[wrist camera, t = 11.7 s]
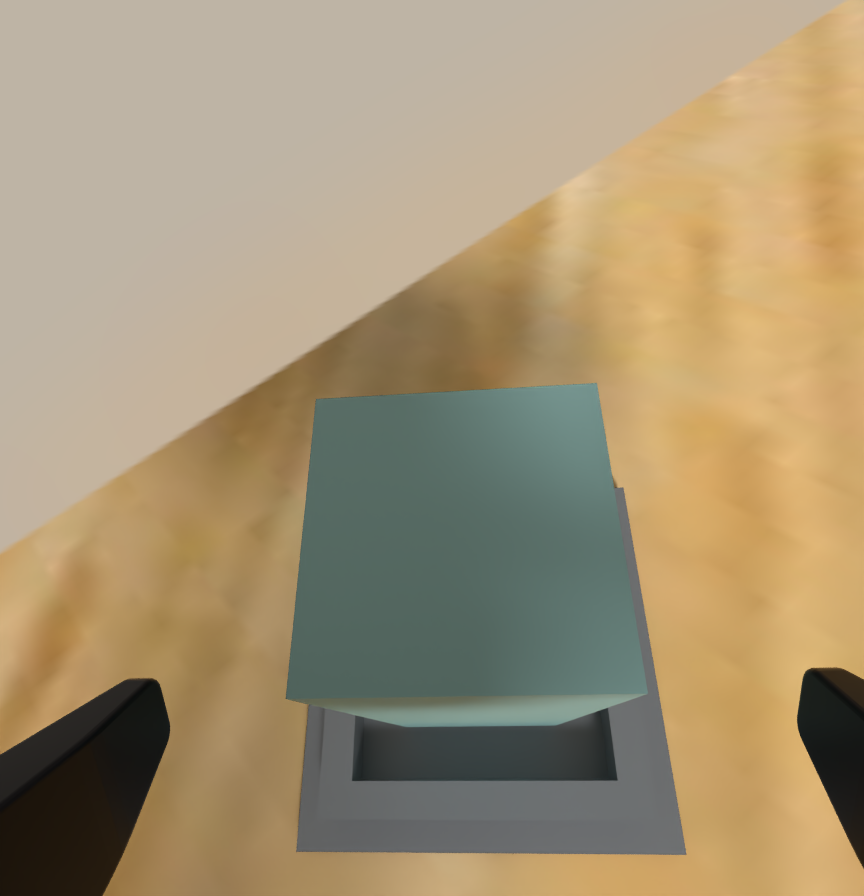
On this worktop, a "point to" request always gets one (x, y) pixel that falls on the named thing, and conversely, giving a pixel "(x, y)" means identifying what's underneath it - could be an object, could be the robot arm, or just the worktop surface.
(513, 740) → the socket holder
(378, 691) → the teal block
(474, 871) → the worktop surface
